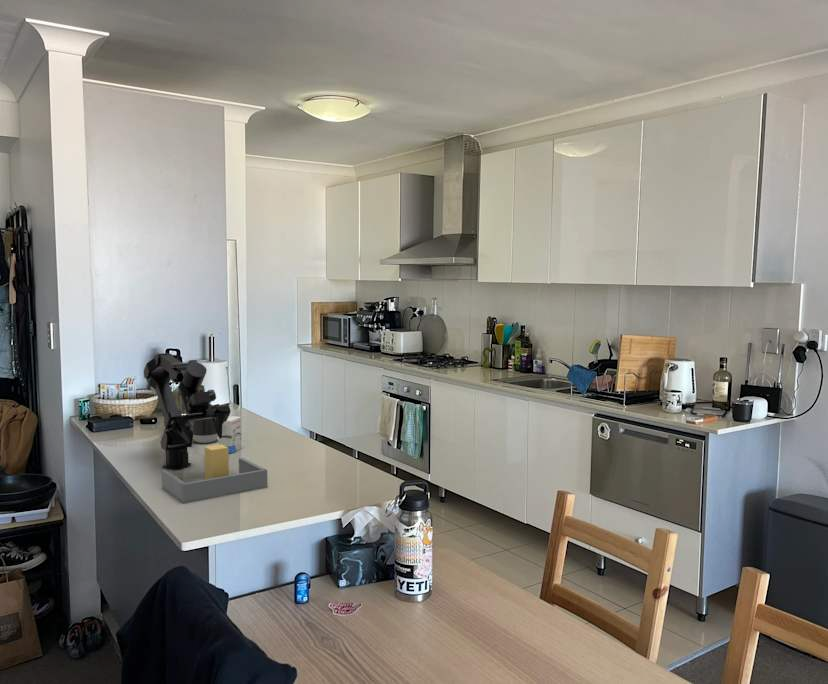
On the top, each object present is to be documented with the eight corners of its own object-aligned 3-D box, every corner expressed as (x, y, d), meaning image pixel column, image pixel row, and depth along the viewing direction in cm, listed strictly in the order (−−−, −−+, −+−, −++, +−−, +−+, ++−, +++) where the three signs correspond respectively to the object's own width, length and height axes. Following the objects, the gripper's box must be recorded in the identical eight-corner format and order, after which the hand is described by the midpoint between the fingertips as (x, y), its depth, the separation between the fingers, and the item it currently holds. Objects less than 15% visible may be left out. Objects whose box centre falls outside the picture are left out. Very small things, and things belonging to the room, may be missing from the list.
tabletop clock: (194, 433, 273) (192, 370, 271) (171, 433, 273) (169, 370, 271) (205, 425, 287) (204, 365, 285) (184, 425, 288) (182, 365, 285)
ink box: (231, 454, 241) (230, 420, 240) (218, 453, 242) (217, 420, 241) (242, 448, 249) (241, 416, 248) (229, 447, 250) (228, 415, 249)
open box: (162, 491, 198) (161, 470, 198) (242, 476, 213) (242, 457, 212) (183, 506, 185) (182, 484, 184) (267, 490, 199) (267, 469, 199)
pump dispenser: (215, 445, 254) (214, 404, 252) (187, 444, 254) (186, 404, 253) (224, 438, 264) (223, 399, 263) (196, 438, 264) (196, 399, 263)
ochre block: (205, 488, 198) (204, 446, 197) (222, 484, 201) (221, 444, 200) (212, 492, 194) (211, 450, 193) (229, 489, 197) (228, 447, 196)
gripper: (166, 384, 200) (180, 428, 192) (227, 378, 211) (243, 420, 204) (158, 406, 207) (171, 450, 199) (218, 400, 218) (233, 441, 211)
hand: (205, 440), depth 203 cm, fingers open, 9 cm apart
